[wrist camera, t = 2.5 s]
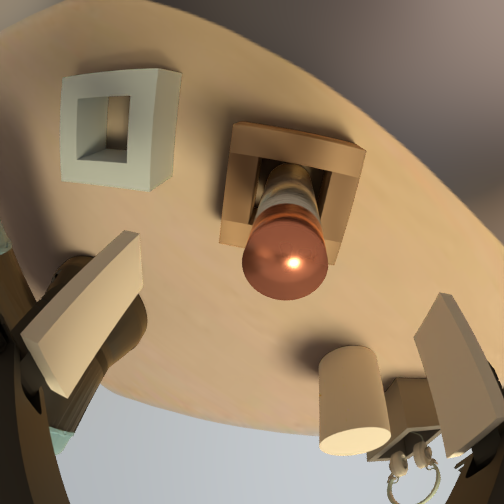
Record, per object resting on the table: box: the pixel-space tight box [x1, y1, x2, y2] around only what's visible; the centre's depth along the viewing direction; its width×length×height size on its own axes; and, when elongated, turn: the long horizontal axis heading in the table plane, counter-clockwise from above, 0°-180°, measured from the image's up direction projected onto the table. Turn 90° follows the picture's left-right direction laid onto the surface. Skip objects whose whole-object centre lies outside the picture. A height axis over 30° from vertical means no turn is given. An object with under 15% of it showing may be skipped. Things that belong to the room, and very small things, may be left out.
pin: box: [242, 163, 328, 300], centre depth 20 cm, size 4×4×14 cm
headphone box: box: [367, 378, 441, 462], centre depth 35 cm, size 8×12×9 cm
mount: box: [219, 121, 366, 265], centre depth 24 cm, size 10×10×4 cm
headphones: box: [387, 432, 441, 504], centre depth 31 cm, size 8×4×20 cm, turn 136°
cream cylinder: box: [319, 346, 391, 456], centre depth 31 cm, size 8×8×12 cm
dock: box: [60, 68, 182, 192], centre depth 22 cm, size 10×10×5 cm
